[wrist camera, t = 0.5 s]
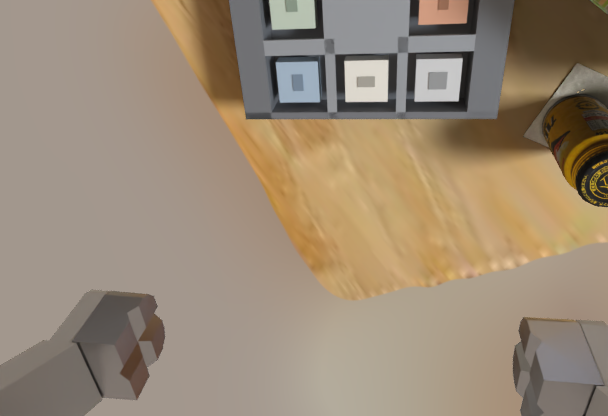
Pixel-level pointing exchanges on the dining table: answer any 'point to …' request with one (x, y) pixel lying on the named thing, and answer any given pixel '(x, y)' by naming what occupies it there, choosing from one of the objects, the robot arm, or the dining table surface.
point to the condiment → (578, 132)
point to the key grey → (437, 77)
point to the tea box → (601, 4)
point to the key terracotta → (442, 12)
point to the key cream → (366, 78)
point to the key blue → (299, 79)
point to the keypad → (372, 41)
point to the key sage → (293, 14)
